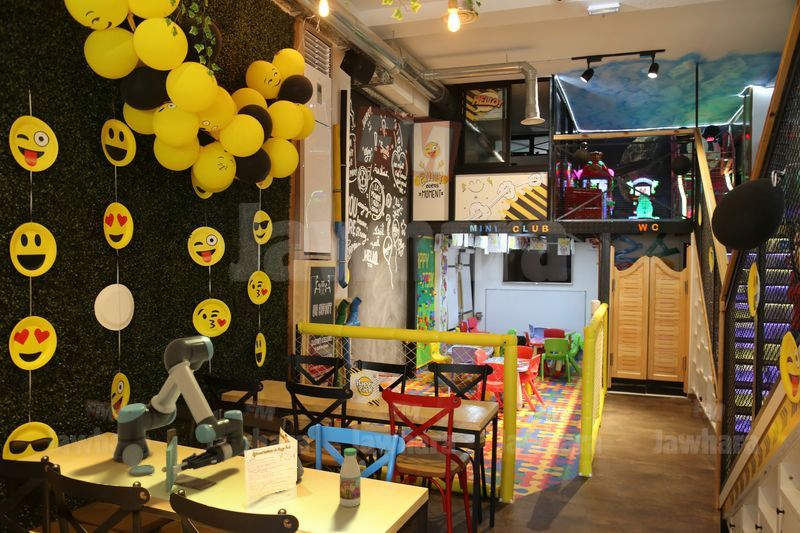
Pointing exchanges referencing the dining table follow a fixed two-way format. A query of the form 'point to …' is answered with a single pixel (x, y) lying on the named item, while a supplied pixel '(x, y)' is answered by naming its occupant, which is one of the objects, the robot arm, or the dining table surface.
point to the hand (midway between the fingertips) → (173, 470)
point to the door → (170, 464)
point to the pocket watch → (136, 461)
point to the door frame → (186, 479)
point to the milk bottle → (350, 480)
